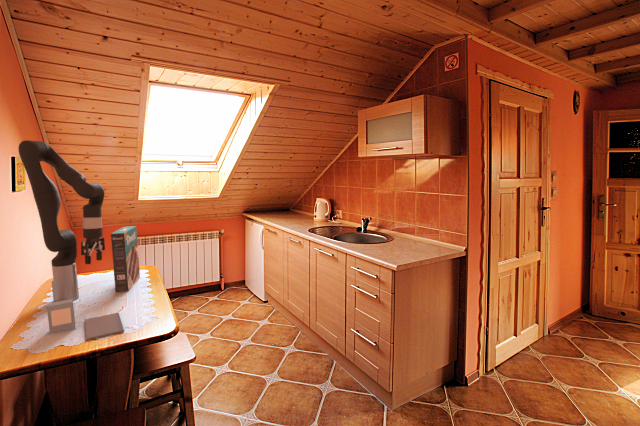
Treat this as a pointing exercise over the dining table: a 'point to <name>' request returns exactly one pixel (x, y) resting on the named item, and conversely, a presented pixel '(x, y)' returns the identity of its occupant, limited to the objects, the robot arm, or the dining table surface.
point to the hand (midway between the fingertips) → (93, 262)
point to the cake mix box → (125, 258)
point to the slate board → (103, 326)
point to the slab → (61, 316)
